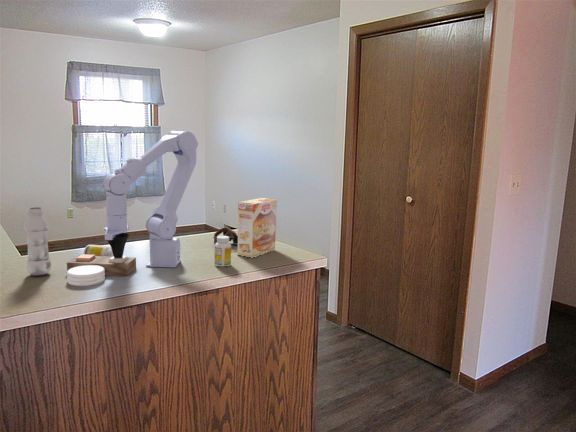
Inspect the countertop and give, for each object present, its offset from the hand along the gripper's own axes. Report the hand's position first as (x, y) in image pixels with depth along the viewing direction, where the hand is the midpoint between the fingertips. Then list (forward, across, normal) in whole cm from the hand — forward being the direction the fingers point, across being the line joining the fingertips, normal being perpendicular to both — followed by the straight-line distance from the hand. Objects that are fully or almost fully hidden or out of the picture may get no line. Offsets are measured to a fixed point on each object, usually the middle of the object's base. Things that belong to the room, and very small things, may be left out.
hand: (118, 257), depth 141 cm
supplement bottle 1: (+2, -11, -14) cm, 18 cm away
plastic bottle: (+5, +6, -22) cm, 23 cm away
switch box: (+4, 0, -5) cm, 7 cm away
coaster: (+5, +9, -6) cm, 12 cm away
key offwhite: (+3, 0, 0) cm, 3 cm away
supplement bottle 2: (+5, -10, +30) cm, 33 cm away
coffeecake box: (+5, -28, +40) cm, 49 cm away
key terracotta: (+3, 0, -10) cm, 10 cm away
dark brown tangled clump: (+5, -37, +28) cm, 47 cm away
